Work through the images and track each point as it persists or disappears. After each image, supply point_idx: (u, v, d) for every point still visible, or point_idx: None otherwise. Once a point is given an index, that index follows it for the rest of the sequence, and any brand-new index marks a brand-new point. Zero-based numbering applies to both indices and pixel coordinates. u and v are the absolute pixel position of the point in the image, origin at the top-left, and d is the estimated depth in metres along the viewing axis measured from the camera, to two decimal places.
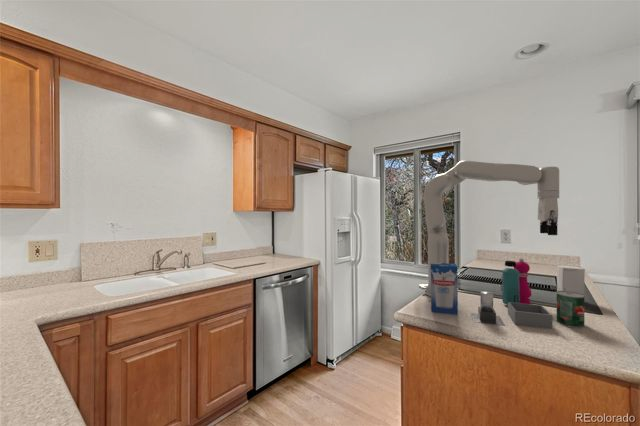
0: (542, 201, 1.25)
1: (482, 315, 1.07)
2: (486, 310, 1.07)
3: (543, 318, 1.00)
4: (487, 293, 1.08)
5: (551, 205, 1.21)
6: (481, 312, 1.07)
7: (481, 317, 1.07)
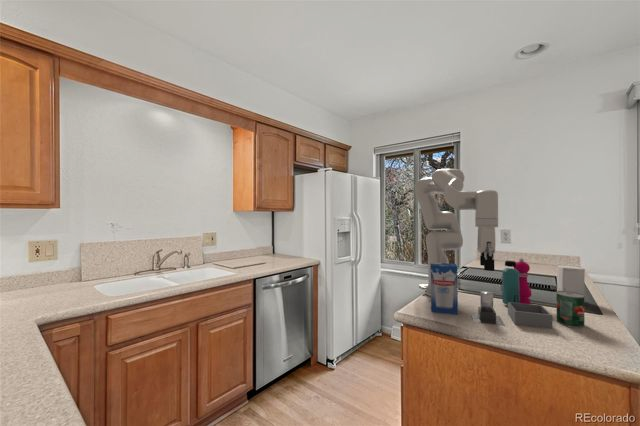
0: (479, 230, 1.08)
1: (482, 315, 1.07)
2: (486, 310, 1.07)
3: (543, 318, 1.00)
4: (487, 293, 1.08)
5: (487, 235, 1.04)
6: (481, 312, 1.07)
7: (481, 317, 1.07)
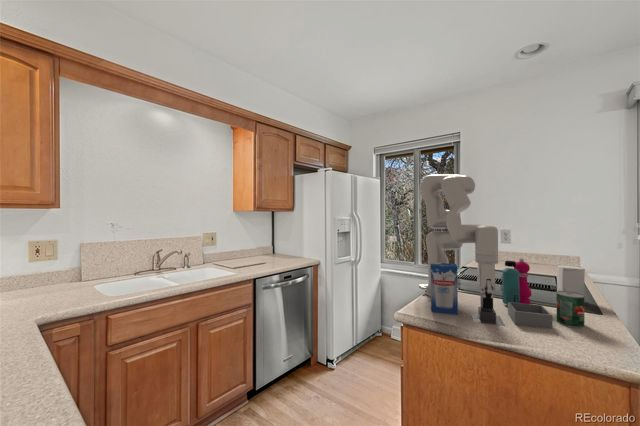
0: (479, 266, 1.08)
1: (482, 315, 1.07)
2: (486, 310, 1.07)
3: (543, 318, 1.00)
4: None
5: (487, 272, 1.04)
6: (481, 312, 1.07)
7: (481, 317, 1.07)
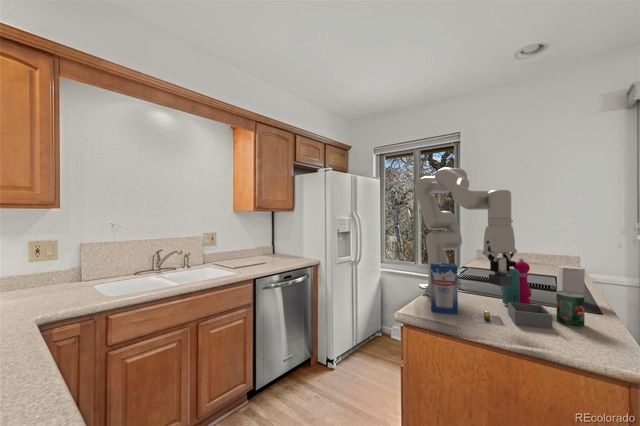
0: None
1: (490, 278, 1.09)
2: (494, 273, 1.08)
3: (543, 318, 1.00)
4: (498, 257, 1.08)
5: (487, 235, 1.07)
6: (489, 275, 1.09)
7: (489, 280, 1.09)
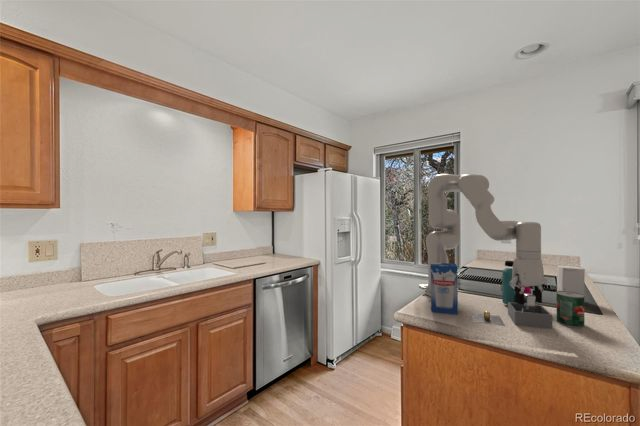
0: None
1: None
2: (523, 311, 1.06)
3: (543, 318, 1.00)
4: (527, 295, 1.06)
5: (516, 267, 1.05)
6: None
7: None
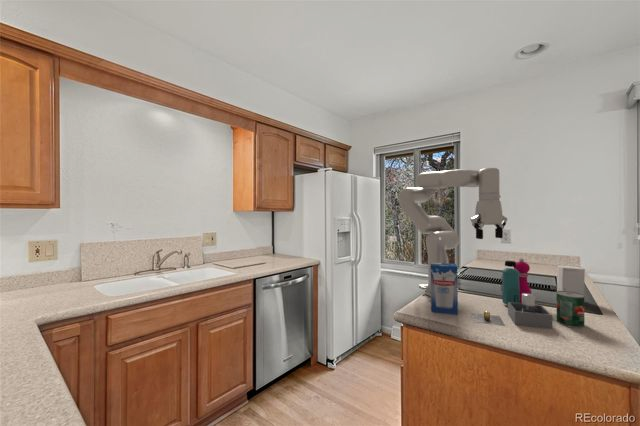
0: None
1: None
2: (523, 311, 1.06)
3: (543, 318, 1.00)
4: (527, 295, 1.06)
5: (478, 208, 1.20)
6: None
7: None
